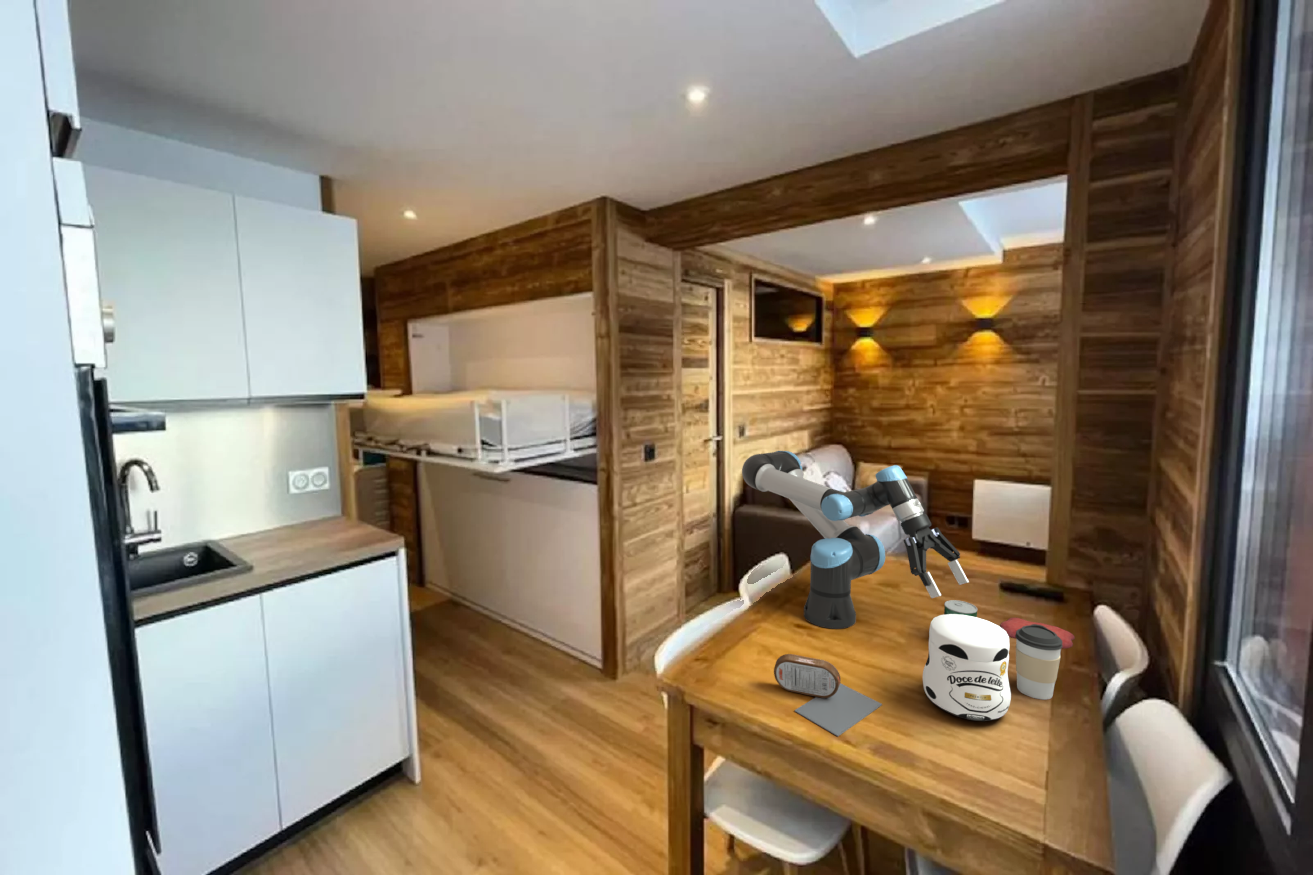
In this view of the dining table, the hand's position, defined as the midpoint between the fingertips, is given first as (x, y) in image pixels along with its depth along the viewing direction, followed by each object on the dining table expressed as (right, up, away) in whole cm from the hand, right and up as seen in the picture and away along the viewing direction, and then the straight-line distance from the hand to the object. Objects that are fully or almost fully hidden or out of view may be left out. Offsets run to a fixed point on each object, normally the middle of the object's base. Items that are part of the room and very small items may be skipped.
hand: (950, 590), depth 152 cm
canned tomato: (+2, -15, +1) cm, 15 cm away
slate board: (-39, -19, -27) cm, 51 cm away
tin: (-45, -18, -21) cm, 53 cm away
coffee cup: (+8, -18, -21) cm, 29 cm away
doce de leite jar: (-11, -19, -26) cm, 34 cm away
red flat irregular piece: (+28, -15, +6) cm, 32 cm away
